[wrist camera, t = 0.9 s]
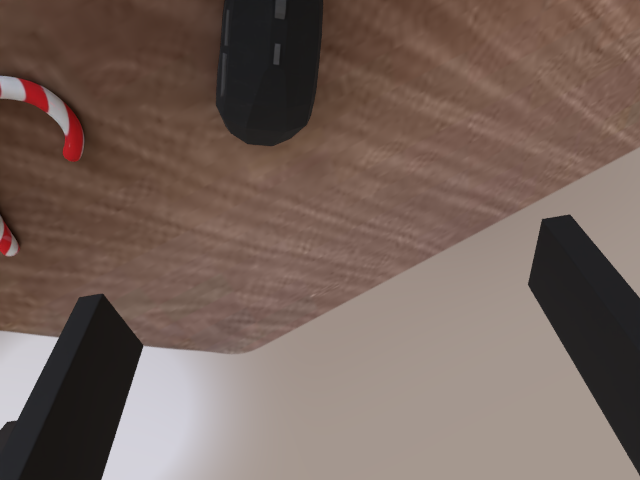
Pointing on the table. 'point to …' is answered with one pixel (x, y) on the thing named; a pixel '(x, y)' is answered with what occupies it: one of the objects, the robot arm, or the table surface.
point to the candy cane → (60, 113)
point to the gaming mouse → (268, 67)
